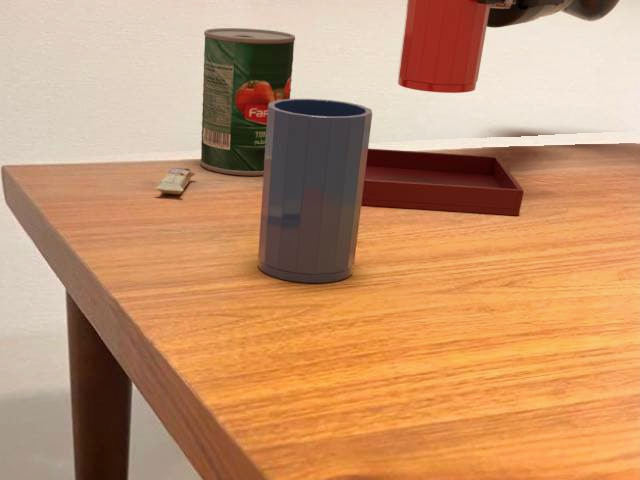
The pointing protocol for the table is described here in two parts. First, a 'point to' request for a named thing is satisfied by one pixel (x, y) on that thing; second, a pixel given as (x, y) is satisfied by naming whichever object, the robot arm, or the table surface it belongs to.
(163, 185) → the granola bar
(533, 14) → the robot arm
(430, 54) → the red cup
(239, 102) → the canned tomato
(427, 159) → the red tray
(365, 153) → the blue cup
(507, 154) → the table surface
